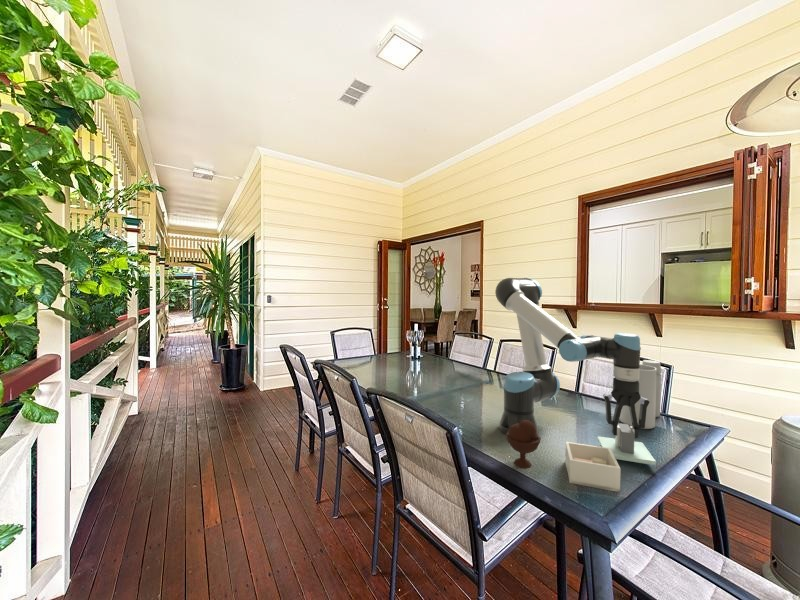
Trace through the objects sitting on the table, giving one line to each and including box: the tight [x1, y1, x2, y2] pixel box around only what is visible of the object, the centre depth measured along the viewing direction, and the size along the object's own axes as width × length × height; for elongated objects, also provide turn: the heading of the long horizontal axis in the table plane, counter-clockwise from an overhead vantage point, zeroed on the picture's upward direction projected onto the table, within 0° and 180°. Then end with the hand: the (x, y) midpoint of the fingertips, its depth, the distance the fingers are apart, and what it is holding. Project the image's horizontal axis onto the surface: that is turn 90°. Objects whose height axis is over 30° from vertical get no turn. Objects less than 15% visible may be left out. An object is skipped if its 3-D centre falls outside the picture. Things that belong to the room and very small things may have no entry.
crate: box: [564, 441, 622, 493], centre depth 104 cm, size 13×13×7 cm
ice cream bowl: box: [505, 420, 542, 469], centre depth 111 cm, size 11×11×15 cm
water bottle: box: [641, 359, 663, 418], centre depth 154 cm, size 9×8×25 cm
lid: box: [597, 422, 657, 466], centre depth 115 cm, size 14×14×9 cm
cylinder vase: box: [619, 363, 657, 430], centre depth 144 cm, size 12×12×25 cm
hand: (624, 445), depth 115 cm, fingers closed on lid, 3 cm apart
